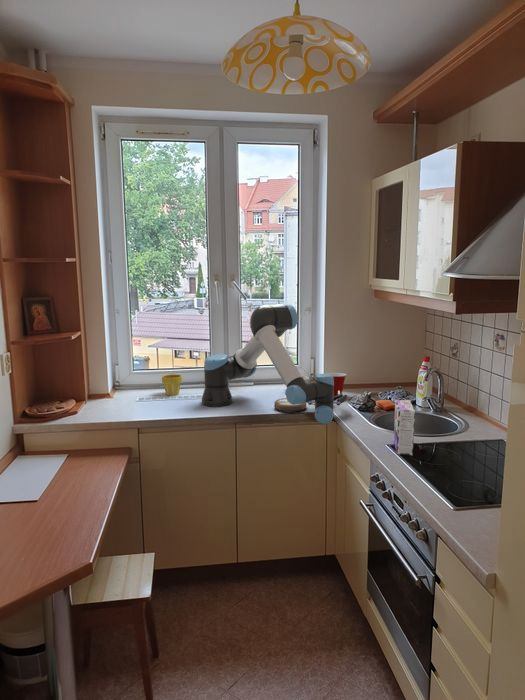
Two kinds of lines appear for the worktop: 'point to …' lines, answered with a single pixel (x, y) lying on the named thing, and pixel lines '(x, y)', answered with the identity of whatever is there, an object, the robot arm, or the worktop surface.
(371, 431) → the worktop surface
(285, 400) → the disc
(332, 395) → the robot arm
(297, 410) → the turntable base
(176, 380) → the plant pot
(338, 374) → the plastic cup
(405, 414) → the candy box
